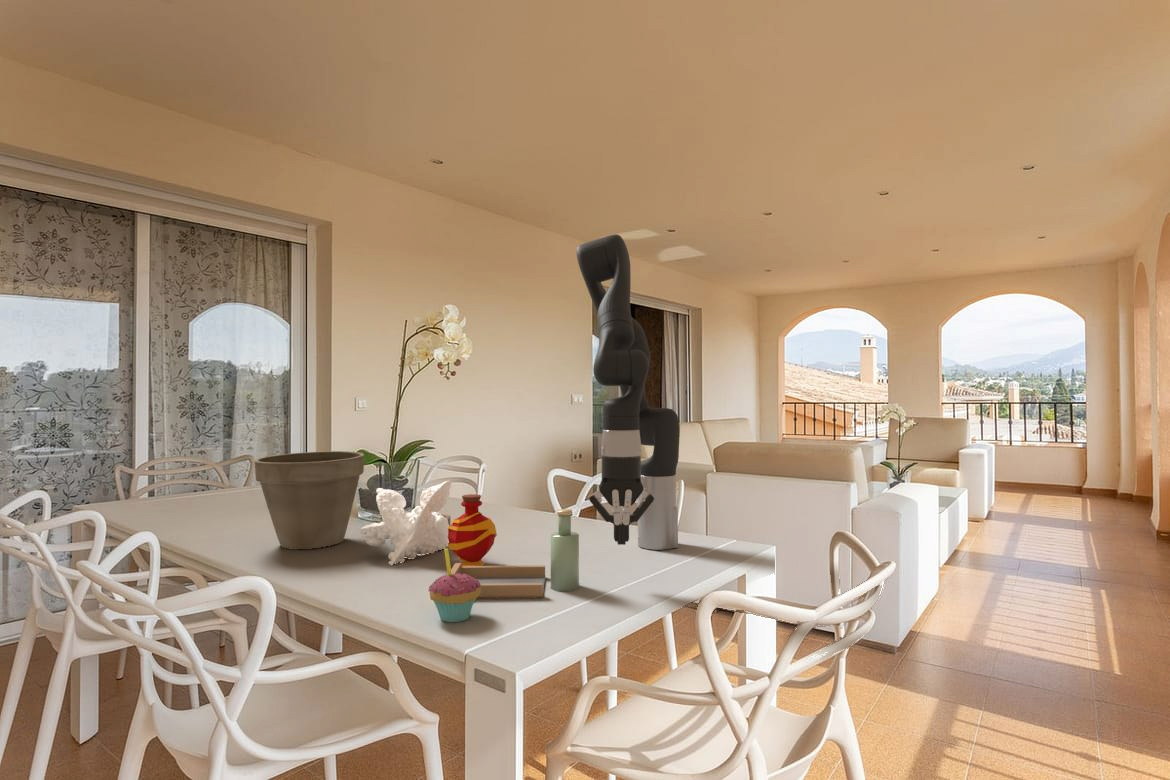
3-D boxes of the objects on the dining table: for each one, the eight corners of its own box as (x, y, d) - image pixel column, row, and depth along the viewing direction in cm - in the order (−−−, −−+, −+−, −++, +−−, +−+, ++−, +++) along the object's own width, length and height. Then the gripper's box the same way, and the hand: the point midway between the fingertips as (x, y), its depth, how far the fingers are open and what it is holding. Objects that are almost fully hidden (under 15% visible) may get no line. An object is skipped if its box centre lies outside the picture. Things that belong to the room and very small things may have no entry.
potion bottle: (474, 574, 133) (473, 501, 133) (437, 567, 138) (437, 497, 138) (506, 563, 141) (506, 494, 141) (470, 556, 147) (470, 490, 147)
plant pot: (257, 561, 144) (256, 463, 144) (252, 539, 165) (252, 454, 165) (373, 547, 156) (373, 457, 156) (354, 528, 178) (354, 449, 178)
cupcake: (418, 622, 105) (418, 548, 105) (447, 606, 113) (447, 537, 113) (464, 629, 102) (464, 553, 102) (491, 612, 110) (490, 541, 110)
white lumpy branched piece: (468, 504, 163) (444, 470, 146) (459, 584, 152) (432, 558, 136) (395, 507, 165) (364, 474, 148) (382, 586, 154) (346, 560, 138)
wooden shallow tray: (545, 577, 131) (545, 562, 131) (542, 598, 118) (542, 581, 118) (455, 578, 130) (455, 563, 130) (442, 599, 117) (442, 582, 117)
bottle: (578, 582, 127) (578, 507, 127) (579, 591, 122) (578, 513, 122) (551, 582, 127) (550, 508, 127) (550, 591, 121) (550, 513, 121)
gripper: (653, 451, 128) (653, 539, 128) (586, 451, 128) (586, 539, 128) (658, 455, 121) (658, 548, 121) (587, 455, 121) (587, 548, 121)
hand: (621, 543), depth 124 cm, fingers closed
